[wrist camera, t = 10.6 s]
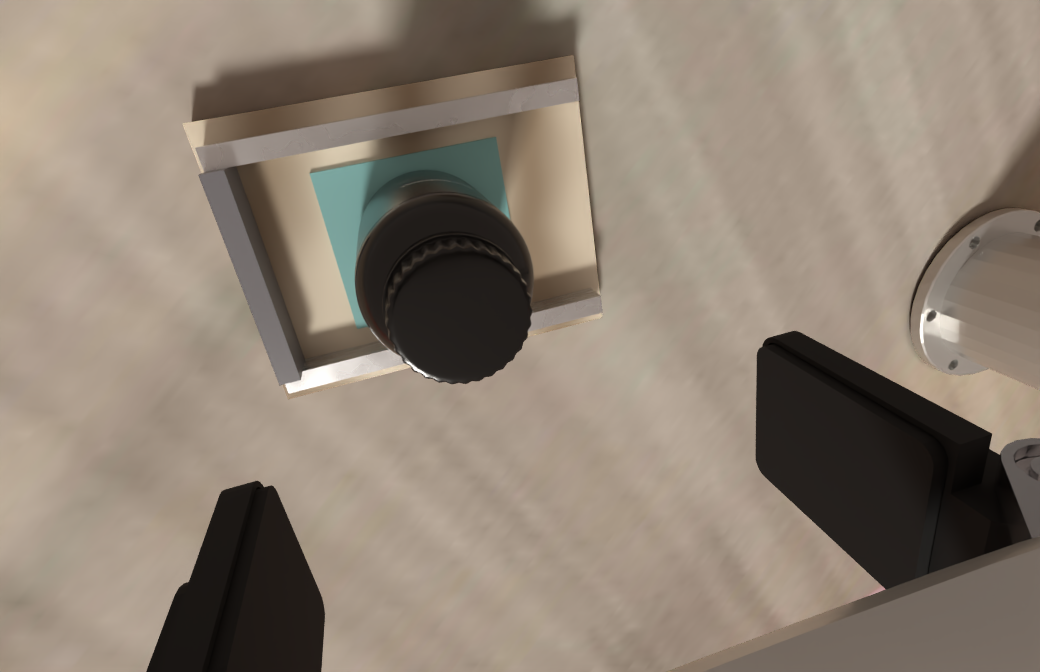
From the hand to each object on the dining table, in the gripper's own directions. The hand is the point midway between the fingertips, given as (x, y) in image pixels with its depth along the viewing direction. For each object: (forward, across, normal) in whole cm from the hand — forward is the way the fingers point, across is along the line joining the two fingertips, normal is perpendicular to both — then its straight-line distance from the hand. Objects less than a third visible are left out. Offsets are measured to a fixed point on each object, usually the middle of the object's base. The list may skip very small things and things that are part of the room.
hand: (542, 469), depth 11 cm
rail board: (+22, 0, 0) cm, 22 cm away
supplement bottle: (+21, 0, 0) cm, 21 cm away
